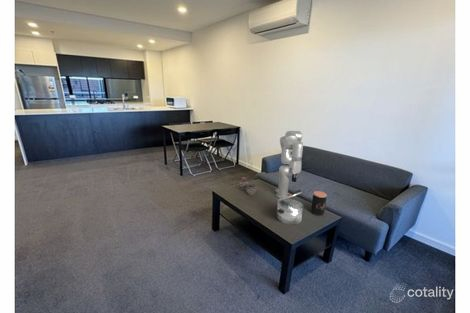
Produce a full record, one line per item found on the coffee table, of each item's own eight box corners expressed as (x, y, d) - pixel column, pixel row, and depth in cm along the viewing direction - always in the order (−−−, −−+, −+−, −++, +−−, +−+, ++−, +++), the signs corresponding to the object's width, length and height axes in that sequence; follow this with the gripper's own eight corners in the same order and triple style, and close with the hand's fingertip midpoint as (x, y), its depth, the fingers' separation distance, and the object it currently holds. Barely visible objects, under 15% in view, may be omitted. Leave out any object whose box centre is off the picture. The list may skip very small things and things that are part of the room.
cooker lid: (272, 203, 181) (270, 199, 181) (288, 196, 193) (287, 193, 194) (290, 197, 164) (289, 193, 165) (307, 190, 177) (305, 187, 177)
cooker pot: (268, 216, 183) (269, 203, 180) (288, 208, 198) (290, 195, 195) (288, 229, 167) (290, 214, 164) (308, 218, 183) (310, 205, 179)
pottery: (245, 186, 243) (245, 175, 239) (259, 195, 222) (259, 184, 219) (236, 187, 237) (236, 177, 234) (249, 197, 216) (250, 186, 213)
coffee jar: (314, 216, 186) (317, 197, 181) (308, 210, 196) (311, 191, 191) (326, 215, 188) (329, 196, 183) (319, 209, 198) (322, 190, 193)
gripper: (298, 156, 175) (296, 178, 180) (285, 159, 166) (283, 181, 171) (306, 158, 169) (303, 181, 174) (294, 161, 161) (291, 185, 165)
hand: (293, 181), depth 173 cm, fingers closed
